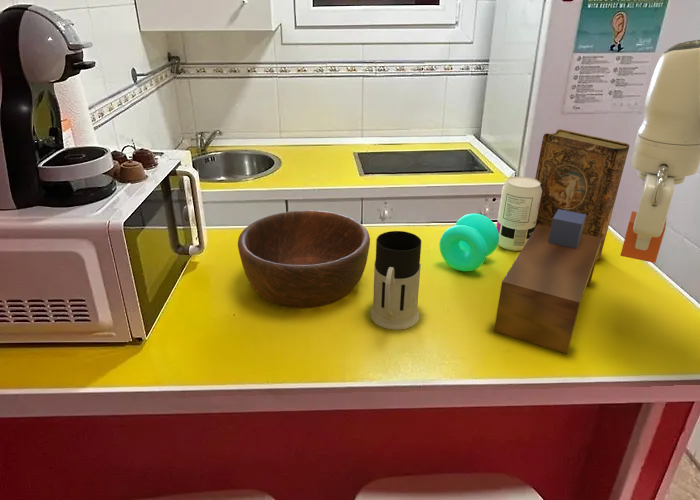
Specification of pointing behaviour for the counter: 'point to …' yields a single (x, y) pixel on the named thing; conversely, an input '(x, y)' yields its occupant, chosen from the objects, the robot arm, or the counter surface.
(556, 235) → the slate-blue box
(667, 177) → the robot arm
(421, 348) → the counter surface
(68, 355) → the counter surface
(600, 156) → the book
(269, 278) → the wooden bowl
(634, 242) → the orange box
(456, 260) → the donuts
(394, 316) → the glass holder
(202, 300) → the counter surface
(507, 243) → the supplement can
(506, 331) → the shelf
